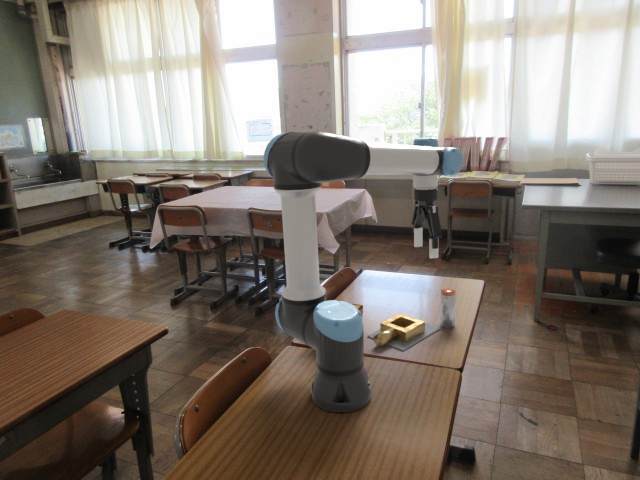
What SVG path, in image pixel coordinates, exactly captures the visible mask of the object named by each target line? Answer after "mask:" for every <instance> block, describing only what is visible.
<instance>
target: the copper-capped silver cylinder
mask: <svg viewBox="0 0 640 480" xmlns="http://www.w3.org/2000/svg"><path fill="white" fill-rule="evenodd" d="M456 292H457V291H456V290H455V289H453V288H441V289H440V322H439V323H440V324H439V325H440V326H441V327H442V328H446V329H452V328H454V327H456V299H457V298H456Z"/></svg>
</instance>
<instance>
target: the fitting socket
mask: <svg viewBox="0 0 640 480" xmlns="http://www.w3.org/2000/svg"><path fill="white" fill-rule="evenodd" d="M425 323H426V321H424V320H421V319H417V318H415V317H411V316H409V315H405V314H403V313H398V314H395V315H393V316H392V317H389V318H387V319H386V320H383V321H380V323H379V324H380V327H379V330H380V333H379V334H377V335H375V336H374V339H373V342H374V344H375V345H376V346H377V347H383V346H384V345H386V343H388V342H390V341H391V340H393V339H396V340H399V341H401V342H404V343H407V342H409V341H411V340H412V339H414V338H416V337H417V336H419V335H421V334H423V333H424V332H425ZM402 327H403V328H402Z"/></svg>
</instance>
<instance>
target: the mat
mask: <svg viewBox="0 0 640 480" xmlns="http://www.w3.org/2000/svg"><path fill="white" fill-rule="evenodd" d="M402 328H403V327H402ZM441 329H442V328H441V327H439V326H437V325H433V324H432V323H427V322H425V332H424V333H423V334H421V335H419V336H417V337H416V338H414V339H412V340H411V341H409V342H407V343H404V342H401V341H399V340H396V339H393V340H391V341H390V342H388V343H386V344H385V345H387V346H389V347H391V348H393V349H396V350H399V351H401V352H405V351H406V350H408V349H409V348H411V347H414V345H417V344H418V343H420V342H422V341H423V340H424V339H426V338H428V337H430V336H431V335H433V334H435V333H436V332H439V331H440V330H441ZM379 333H380V329H378V330H376V331H374V332H372V333H370V334H368V335H367V338H369V339H372V340H374V336H375V335H377V334H379Z"/></svg>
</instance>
